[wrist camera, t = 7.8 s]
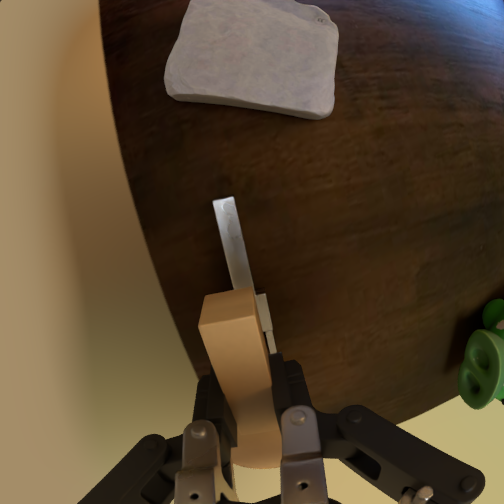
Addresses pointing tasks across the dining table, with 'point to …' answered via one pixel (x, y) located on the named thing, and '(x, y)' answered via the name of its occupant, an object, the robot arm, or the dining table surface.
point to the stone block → (255, 57)
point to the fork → (240, 259)
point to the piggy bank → (484, 360)
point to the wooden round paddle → (243, 374)
